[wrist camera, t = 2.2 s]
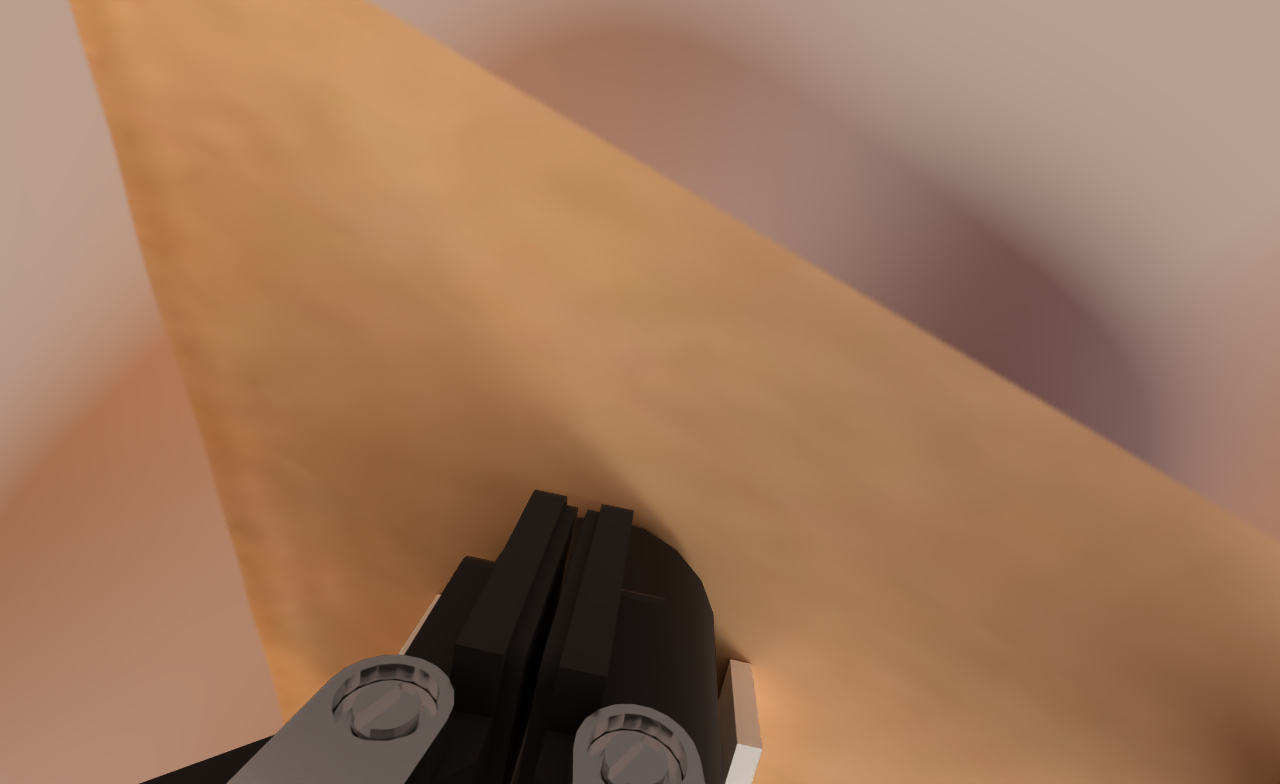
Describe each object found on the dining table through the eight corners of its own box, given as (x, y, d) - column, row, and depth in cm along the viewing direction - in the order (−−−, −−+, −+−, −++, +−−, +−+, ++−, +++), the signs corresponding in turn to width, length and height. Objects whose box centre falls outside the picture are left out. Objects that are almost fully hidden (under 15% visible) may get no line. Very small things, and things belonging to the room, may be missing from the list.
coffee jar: (441, 562, 30) (107, 1035, 13) (644, 465, 28) (570, 873, 11) (557, 735, 32) (402, 1339, 15) (753, 657, 30) (835, 1253, 13)
